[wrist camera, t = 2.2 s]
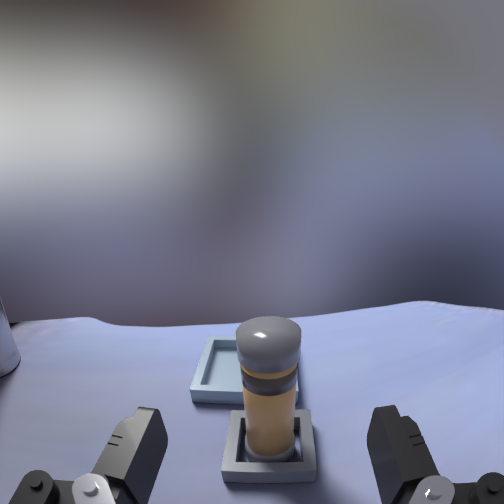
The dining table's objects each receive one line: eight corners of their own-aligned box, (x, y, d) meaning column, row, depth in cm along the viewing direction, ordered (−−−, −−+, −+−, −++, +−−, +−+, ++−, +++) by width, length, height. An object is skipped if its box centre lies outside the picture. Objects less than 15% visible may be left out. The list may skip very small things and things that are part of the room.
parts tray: (192, 401, 33) (189, 389, 32) (209, 347, 44) (208, 335, 44) (297, 403, 32) (298, 391, 32) (292, 347, 44) (292, 335, 43)
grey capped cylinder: (244, 468, 24) (232, 349, 20) (247, 434, 28) (238, 316, 24) (294, 468, 23) (303, 348, 19) (293, 433, 28) (298, 315, 24)
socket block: (223, 481, 22) (221, 470, 21) (232, 422, 30) (231, 409, 29) (314, 481, 21) (317, 470, 21) (308, 421, 29) (310, 409, 29)
